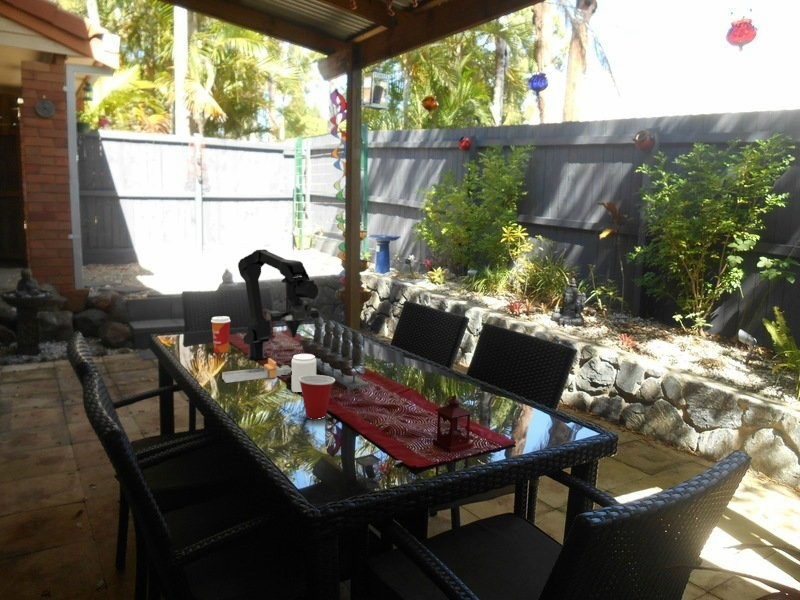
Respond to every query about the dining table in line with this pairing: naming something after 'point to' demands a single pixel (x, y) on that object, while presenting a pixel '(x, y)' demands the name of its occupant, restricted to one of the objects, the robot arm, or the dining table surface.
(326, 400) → the plastic cup
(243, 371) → the bar
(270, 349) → the dining table surface
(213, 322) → the paper cup
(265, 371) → the base
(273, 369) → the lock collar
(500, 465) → the dining table surface
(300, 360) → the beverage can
